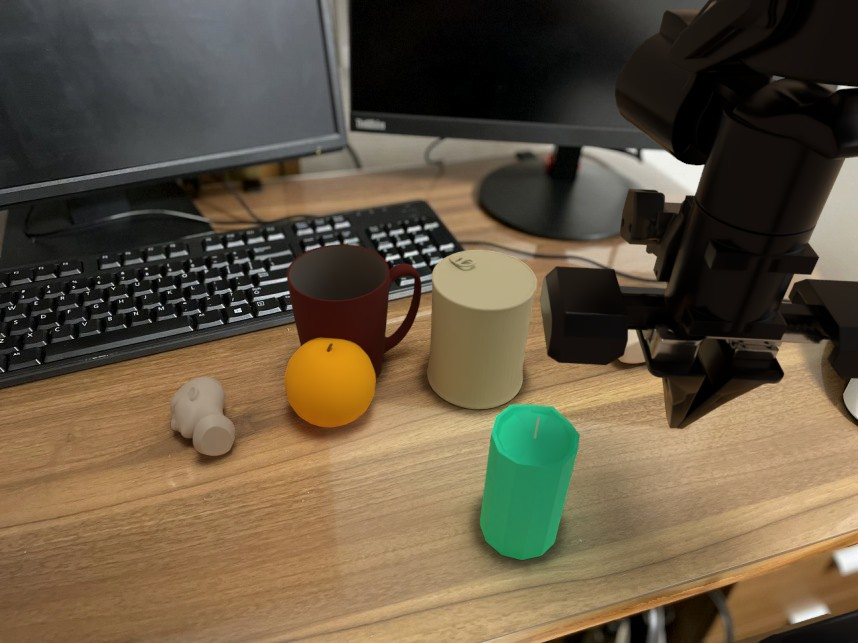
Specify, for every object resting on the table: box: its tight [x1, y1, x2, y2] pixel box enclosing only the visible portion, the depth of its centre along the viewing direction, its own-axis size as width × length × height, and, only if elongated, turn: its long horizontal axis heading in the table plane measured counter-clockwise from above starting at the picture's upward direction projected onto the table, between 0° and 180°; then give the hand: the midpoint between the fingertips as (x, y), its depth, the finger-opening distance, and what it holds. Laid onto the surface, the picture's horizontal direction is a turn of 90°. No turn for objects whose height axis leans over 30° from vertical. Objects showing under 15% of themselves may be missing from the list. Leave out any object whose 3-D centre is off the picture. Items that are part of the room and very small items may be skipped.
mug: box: [286, 243, 422, 379], centre depth 62 cm, size 12×9×11 cm
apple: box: [283, 338, 377, 428], centre depth 58 cm, size 8×8×8 cm
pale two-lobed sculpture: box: [169, 376, 236, 457], centre depth 57 cm, size 4×8×5 cm
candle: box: [479, 403, 581, 561], centre depth 48 cm, size 6×6×12 cm
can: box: [426, 249, 538, 410], centre depth 61 cm, size 9×9×12 cm
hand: (673, 423), depth 43 cm, fingers closed
